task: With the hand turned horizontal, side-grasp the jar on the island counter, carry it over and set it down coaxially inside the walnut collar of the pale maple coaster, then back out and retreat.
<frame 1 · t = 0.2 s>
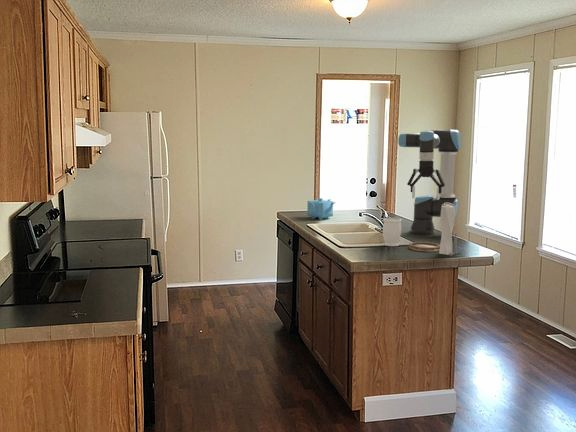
hand: (425, 198, 334), 27 cm above the worktop, tool pointing down, fingers open, 13 cm apart
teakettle: (321, 219, 437), on the worktop
coaster: (424, 248, 337), on the worktop
skyscraper: (446, 254, 324), on the worktop
jar: (391, 245, 345), on the worktop
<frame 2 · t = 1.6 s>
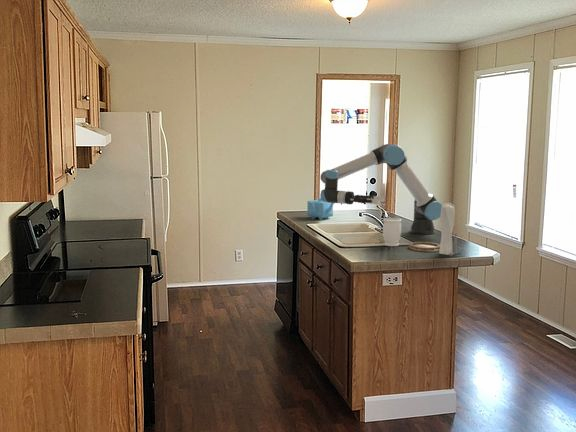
hand: (381, 200, 349), 24 cm above the worktop, tool horizontal, fingers open, 13 cm apart
nothing on the worktop moved.
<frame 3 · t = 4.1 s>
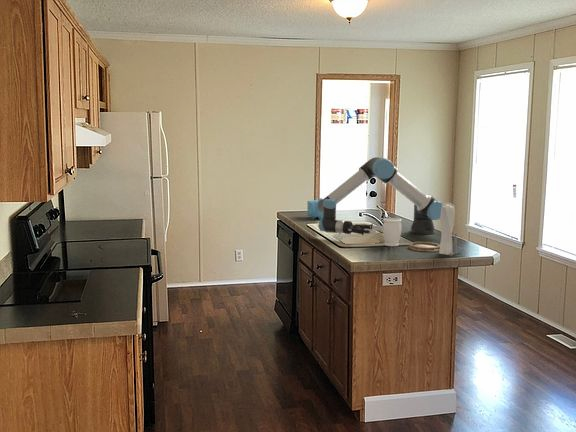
hand: (379, 230, 347), 8 cm above the worktop, tool horizontal, fingers open, 13 cm apart
nothing on the worktop moved.
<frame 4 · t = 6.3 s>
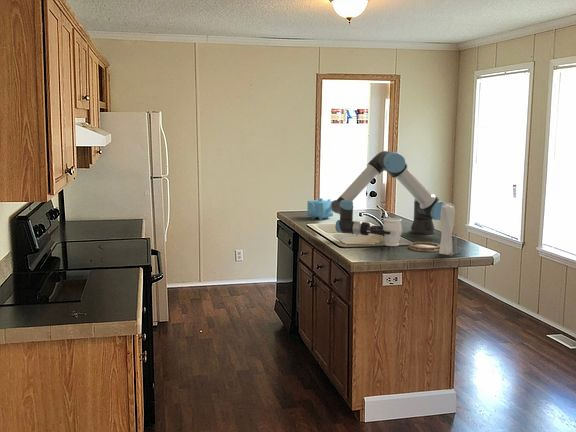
hand: (399, 231, 342), 8 cm above the worktop, tool horizontal, fingers closed on jar, 10 cm apart
jar: (391, 245, 345), on the worktop, touching gripper
everything else where it was.
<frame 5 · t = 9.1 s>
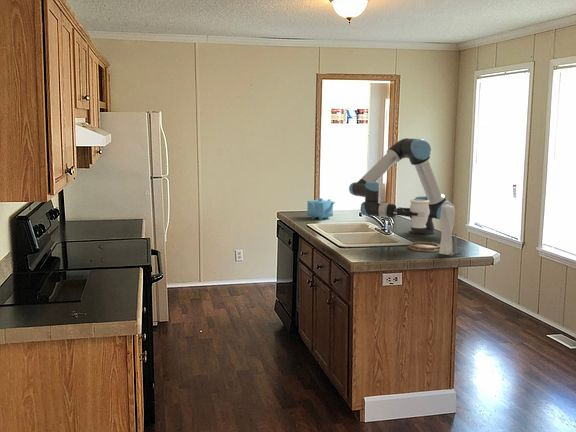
hand: (426, 213, 332), 20 cm above the worktop, tool horizontal, fingers closed on jar, 10 cm apart
jar: (418, 227, 336), point 12 cm above the worktop, touching gripper
everything else where it was.
when the fingers open (10 cm above the worktop, at t = 12.3 s): jar drops 1 cm, resting on coaster.
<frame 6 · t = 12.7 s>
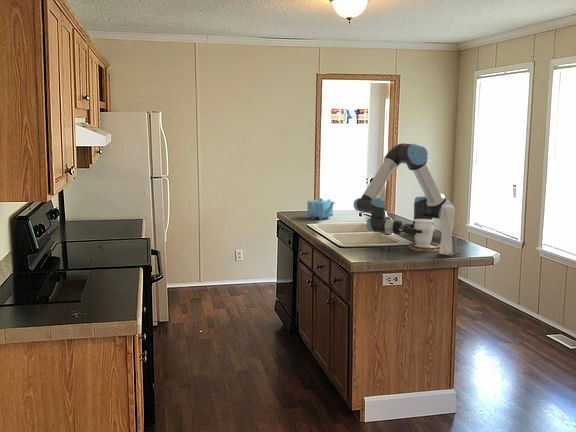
hand: (431, 230, 333), 10 cm above the worktop, tool horizontal, fingers open, 13 cm apart
jar: (422, 247, 335), point 1 cm above the worktop, touching coaster, gripper
everything else where it was.
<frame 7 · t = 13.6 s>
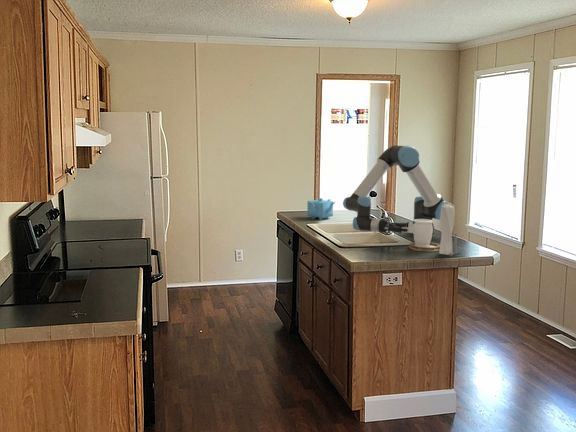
hand: (416, 228, 337), 11 cm above the worktop, tool horizontal, fingers open, 13 cm apart
jar: (422, 247, 335), point 1 cm above the worktop, touching coaster
everything else where it was.
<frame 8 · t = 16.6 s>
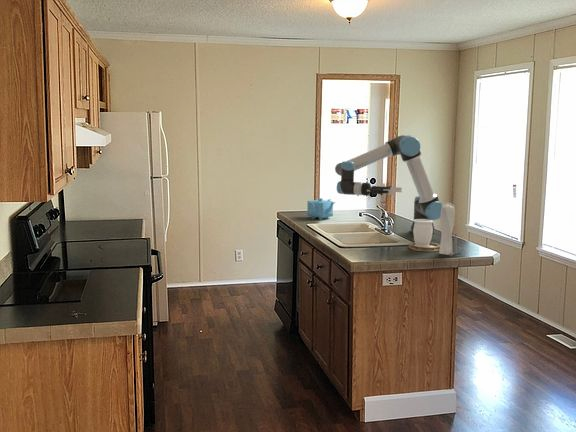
hand: (398, 191, 347), 30 cm above the worktop, tool horizontal, fingers open, 13 cm apart
nothing on the worktop moved.
at the end: jar 2.0 cm off-centre on the coaster, point 0.5 cm above the coaster's base; jar tilted 0°; the gripper is holding nothing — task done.
